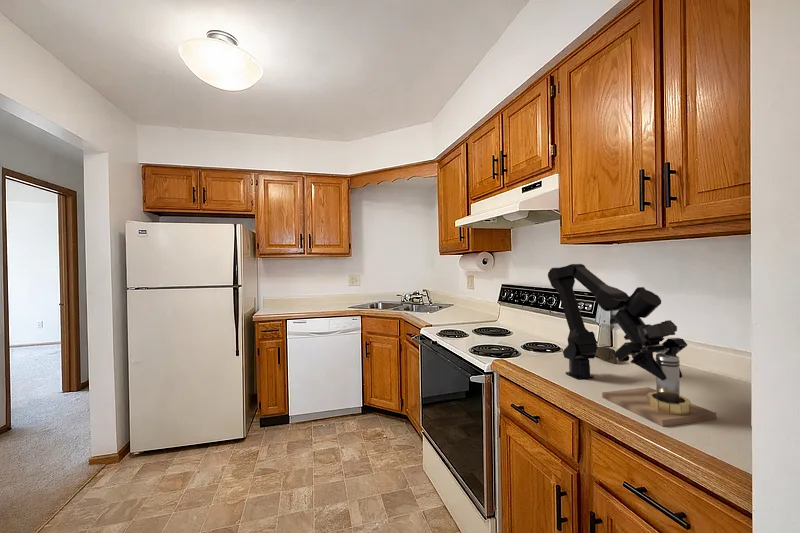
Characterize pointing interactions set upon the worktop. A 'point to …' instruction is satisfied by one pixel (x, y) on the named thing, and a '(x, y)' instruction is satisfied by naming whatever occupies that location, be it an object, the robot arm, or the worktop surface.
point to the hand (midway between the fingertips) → (672, 378)
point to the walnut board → (638, 404)
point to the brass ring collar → (669, 405)
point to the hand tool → (606, 354)
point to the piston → (668, 378)
